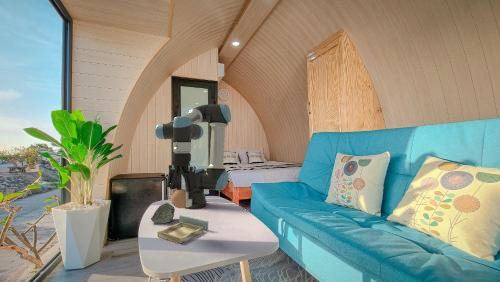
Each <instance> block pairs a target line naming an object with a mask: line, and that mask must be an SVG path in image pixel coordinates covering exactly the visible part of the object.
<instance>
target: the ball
mask: <svg viewBox="0 0 500 282" xmlns="http://www.w3.org/2000/svg"><path fill="white" fill-rule="evenodd" d="M186 192H187V190H185V188H184V189H182V188H181V189H177V191H176V192H174V194H173V195H172V204H173V205H172V204H171V205H172V206H173V207H174V208H177V209H186V208H185V207H186Z"/></svg>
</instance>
